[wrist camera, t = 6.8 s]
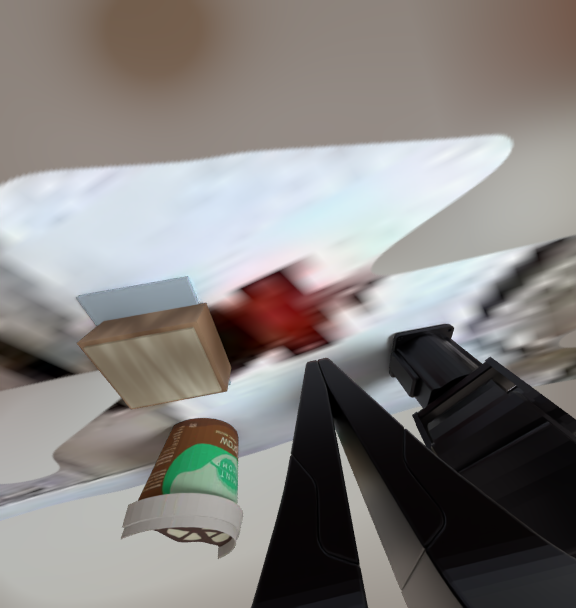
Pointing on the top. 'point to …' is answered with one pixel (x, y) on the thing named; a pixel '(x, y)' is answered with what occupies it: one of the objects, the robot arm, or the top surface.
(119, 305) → the board
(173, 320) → the wooden block
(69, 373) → the top surface
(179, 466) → the food container
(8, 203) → the top surface
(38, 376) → the top surface
